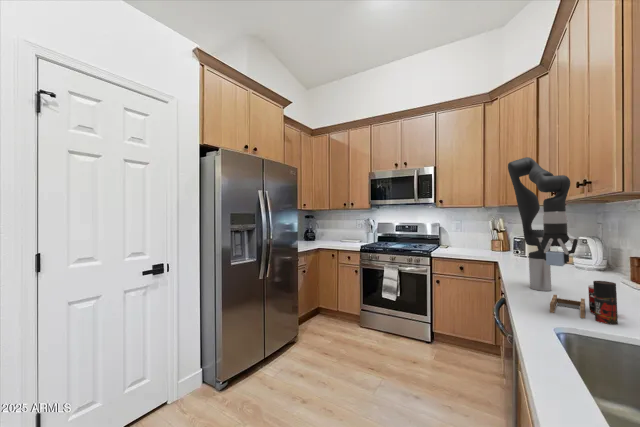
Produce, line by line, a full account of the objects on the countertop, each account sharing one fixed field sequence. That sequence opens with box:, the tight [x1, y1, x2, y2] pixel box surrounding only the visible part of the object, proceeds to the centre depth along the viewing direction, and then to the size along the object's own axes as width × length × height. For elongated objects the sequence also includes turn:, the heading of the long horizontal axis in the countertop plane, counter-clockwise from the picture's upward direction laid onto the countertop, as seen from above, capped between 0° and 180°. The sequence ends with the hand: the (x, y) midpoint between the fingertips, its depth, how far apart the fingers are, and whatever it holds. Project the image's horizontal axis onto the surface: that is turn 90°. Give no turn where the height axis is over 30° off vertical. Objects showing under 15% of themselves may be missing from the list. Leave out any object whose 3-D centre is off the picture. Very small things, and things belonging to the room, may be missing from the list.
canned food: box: [587, 284, 617, 315], centre depth 109 cm, size 8×8×11 cm
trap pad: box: [557, 303, 580, 310], centre depth 118 cm, size 5×7×1 cm
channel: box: [549, 294, 586, 319], centre depth 114 cm, size 19×10×4 cm, turn 134°
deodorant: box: [592, 280, 619, 326], centre depth 101 cm, size 6×6×15 cm
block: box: [546, 250, 566, 267], centre depth 110 cm, size 8×5×5 cm, turn 131°
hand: (556, 262), depth 111 cm, fingers closed on block, 5 cm apart
